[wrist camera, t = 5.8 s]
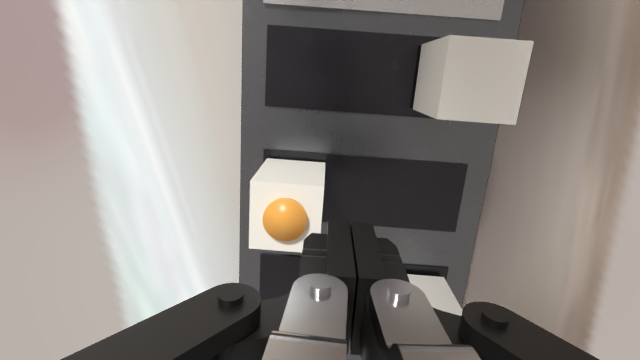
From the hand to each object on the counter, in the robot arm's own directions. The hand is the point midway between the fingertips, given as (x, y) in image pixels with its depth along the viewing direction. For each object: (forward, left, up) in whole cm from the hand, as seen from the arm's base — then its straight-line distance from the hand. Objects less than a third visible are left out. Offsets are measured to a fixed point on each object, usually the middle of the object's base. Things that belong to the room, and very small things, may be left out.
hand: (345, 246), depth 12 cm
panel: (0, +1, -9) cm, 9 cm away
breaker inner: (-6, +5, -7) cm, 10 cm away
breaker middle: (0, -2, -7) cm, 7 cm away
